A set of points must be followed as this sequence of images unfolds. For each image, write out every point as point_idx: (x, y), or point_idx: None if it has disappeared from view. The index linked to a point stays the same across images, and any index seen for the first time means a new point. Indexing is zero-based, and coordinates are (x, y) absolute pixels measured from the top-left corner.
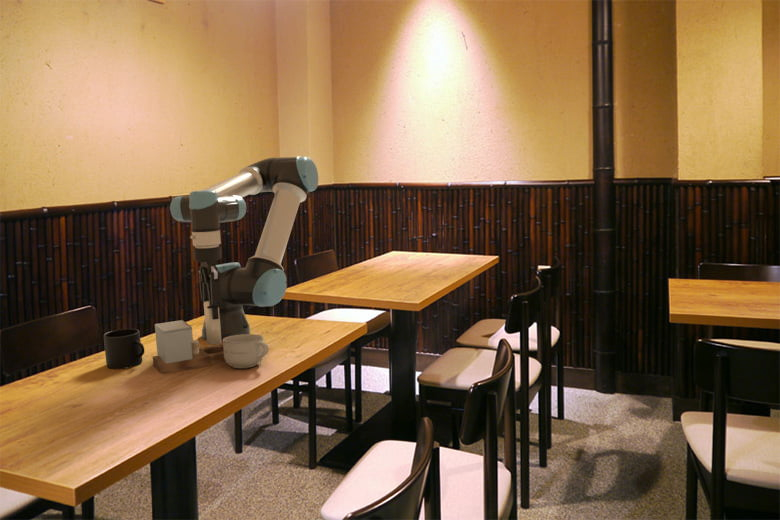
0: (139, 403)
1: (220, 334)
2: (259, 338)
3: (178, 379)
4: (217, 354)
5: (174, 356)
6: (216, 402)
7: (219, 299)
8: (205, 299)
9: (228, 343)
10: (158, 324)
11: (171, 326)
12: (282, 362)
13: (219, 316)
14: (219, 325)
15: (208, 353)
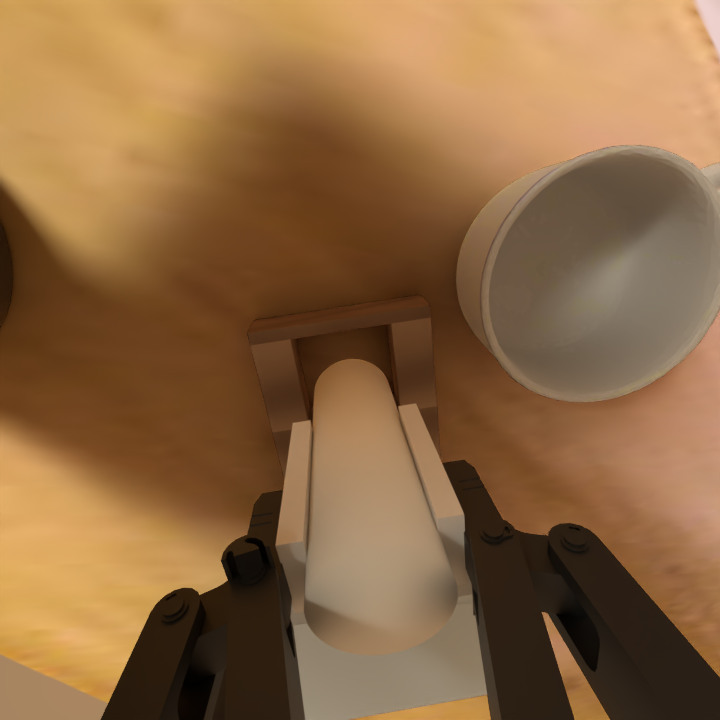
0: (662, 582)
1: (377, 384)
2: (587, 164)
3: (530, 497)
4: (430, 376)
5: None
6: None
7: (633, 597)
8: (293, 656)
9: (646, 380)
10: (321, 715)
11: (413, 668)
12: (604, 63)
13: (437, 456)
14: (423, 422)
15: (304, 391)
